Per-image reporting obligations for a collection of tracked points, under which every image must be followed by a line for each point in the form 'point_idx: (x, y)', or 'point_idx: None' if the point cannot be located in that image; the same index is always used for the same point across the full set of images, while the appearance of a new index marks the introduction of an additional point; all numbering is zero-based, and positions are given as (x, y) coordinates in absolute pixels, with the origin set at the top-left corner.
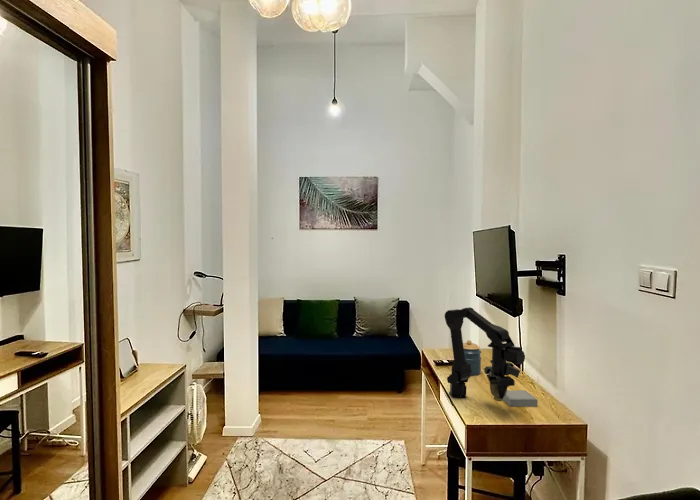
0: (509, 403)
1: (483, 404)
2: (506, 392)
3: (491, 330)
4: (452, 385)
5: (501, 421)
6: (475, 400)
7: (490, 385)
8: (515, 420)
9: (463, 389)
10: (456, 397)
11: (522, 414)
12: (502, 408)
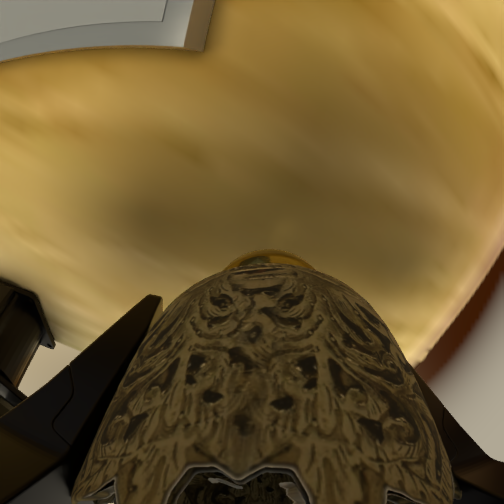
0: (173, 48)
1: (125, 259)
2: (388, 329)
3: None
4: (18, 384)
5: (432, 305)
6: (58, 267)
7: (243, 495)
8: (470, 222)
9: (6, 330)
10: (50, 335)
11: (420, 78)
12: (232, 157)
